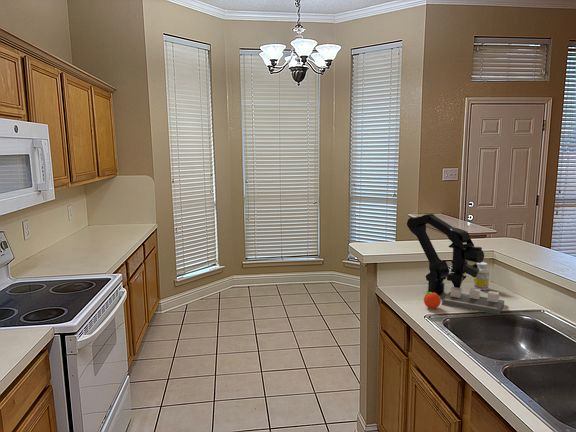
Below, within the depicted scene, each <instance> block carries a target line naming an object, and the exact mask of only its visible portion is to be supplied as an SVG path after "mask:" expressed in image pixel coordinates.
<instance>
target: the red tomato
mask: <svg viewBox="0 0 576 432" xmlns="http://www.w3.org/2000/svg"><path fill="white" fill-rule="evenodd" d="M423 295H424V296H423V302H424V303H423V304H424V305H425V307H428V308H429V309H431V310H432V309H437V308H438V307H439V306H440V304H441V303H442V300H441V297H440V295H438V294H436V293H434V292H427V291H426V292H425V293H423Z"/></svg>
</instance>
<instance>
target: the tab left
mask: <svg viewBox="0 0 576 432" xmlns="http://www.w3.org/2000/svg"><path fill="white" fill-rule="evenodd" d="M450 292H451V295H450V296H452V297H458V298H460V297H461V293H463V292H462V288H461V287H460V288H457V287H454V286H452V287H451V288H450Z"/></svg>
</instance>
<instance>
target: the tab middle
mask: <svg viewBox="0 0 576 432" xmlns="http://www.w3.org/2000/svg"><path fill="white" fill-rule="evenodd" d="M481 291H482V290H479V289H475V288H473V287H471V288H470V289H469V293H468V295H469V298H473V299H479V298H480V297H481Z"/></svg>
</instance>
